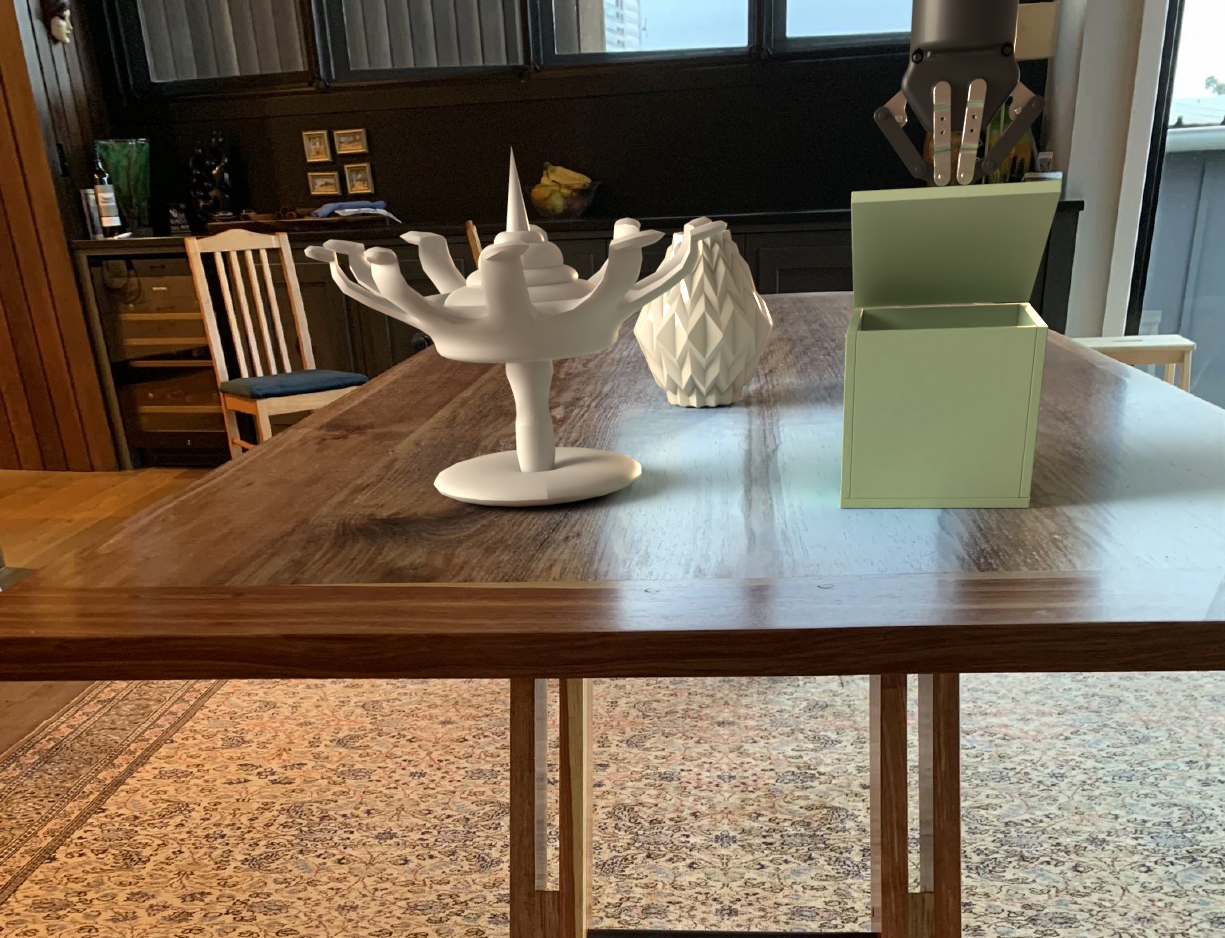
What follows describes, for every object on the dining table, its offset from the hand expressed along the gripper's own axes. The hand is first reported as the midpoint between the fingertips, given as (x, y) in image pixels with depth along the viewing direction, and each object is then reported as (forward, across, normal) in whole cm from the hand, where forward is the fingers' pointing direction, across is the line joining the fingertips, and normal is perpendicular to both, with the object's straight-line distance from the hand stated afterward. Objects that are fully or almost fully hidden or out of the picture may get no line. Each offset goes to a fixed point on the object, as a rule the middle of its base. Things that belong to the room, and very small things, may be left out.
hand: (948, 239), depth 95 cm
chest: (+19, 0, +1) cm, 19 cm away
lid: (+1, 0, 0) cm, 1 cm away
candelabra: (+19, +35, +2) cm, 40 cm away
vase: (+19, +26, -41) cm, 52 cm away
